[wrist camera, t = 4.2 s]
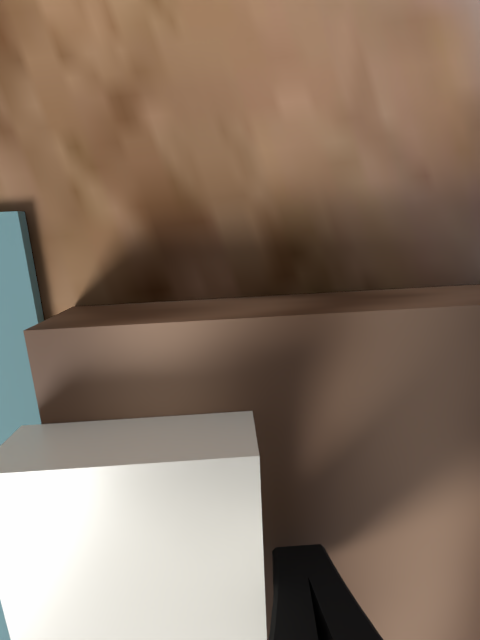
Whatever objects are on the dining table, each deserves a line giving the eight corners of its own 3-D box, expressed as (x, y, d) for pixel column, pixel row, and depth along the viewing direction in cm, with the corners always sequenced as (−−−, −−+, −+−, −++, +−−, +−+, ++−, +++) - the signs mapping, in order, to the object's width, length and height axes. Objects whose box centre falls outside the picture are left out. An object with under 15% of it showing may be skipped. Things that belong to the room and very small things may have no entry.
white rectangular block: (252, 410, 10) (259, 455, 8) (263, 665, 12) (271, 752, 10) (21, 425, 9) (-32, 475, 7) (75, 681, 12) (44, 773, 10)
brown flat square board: (495, 283, 12) (580, 299, 9) (457, 610, 15) (511, 698, 13) (73, 306, 12) (22, 330, 9) (125, 637, 15) (101, 734, 12)
